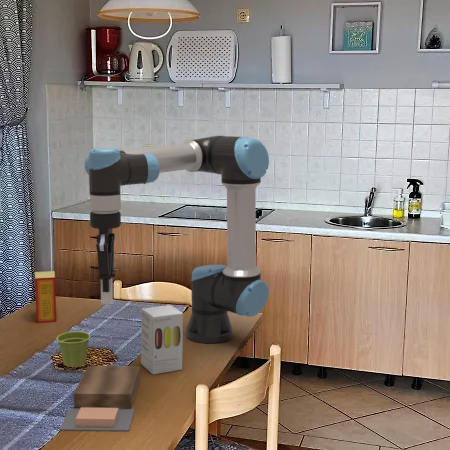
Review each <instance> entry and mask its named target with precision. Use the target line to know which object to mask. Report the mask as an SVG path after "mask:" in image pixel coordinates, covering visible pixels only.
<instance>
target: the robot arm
mask: <svg viewBox="0 0 450 450" xmlns="http://www.w3.org/2000/svg"><path fill="white" fill-rule="evenodd" d="M269 165H270V158H269V152H268V150H267V148H266V146H265V145H264V144H263V142H262V141H260V139H258V138H254V137H249V136H231V135H230V136H228V135H212V136H208V137H202V138H196V139H188V140H185V141H184V142H183V143H182V144H181V143H180V144H171V145H169V144H168V145H160V146H159V145H158V146H151V147H148V146H147V147H142V148H140V147H139V148H130V149H120V150H119V149H118V148H115V147H97V148H92V149H91V150H90V151H89V153H88V154H87V156H86V157H85V160H84V169H85V173H87V175H88V185H89V187H88V188H89V197H87V202H90V203H89V210H90V211H91V212H90V213H89V226H90V227H91V228H92V229H98V234H96V243H95V244H96V245H95V248H96V253H97V254H96V255H97V267H98V269H97V270H98V276H97V278H96V279H97V280H100V304H101V305H112V304H113V303H114V297H113V296H114V295H113V294H114V292H113V286H114V285H113V278H114V277H115V278H116V273H114V272H115V268H114V267H115V266H114V264H115V261H114V260H115V258H114V257H115V256H114V255H115V254H114V253H115V238H116V234H115V233H113V232H114V231H113V230H114V229H118V228H120V227H121V225H122V223H121V221H122V217H121V216H122V213H121V212H120V210H121V209H122V203H121V201H122V199H121V198H122V195H121V187H122V186H128V185H129V186H130V185H147V184H149V183H150V184H151V183H154V182H156V180H157V179H158V178H159V175H160V174H161V173H169V172H170V173H171V172H177V171H187V172H190V173H195V172H196V173H197V172H199V173H201V172H202V173H209V174H214V175H215V174H216V175H221V179H220V180H221V181H220V182H221V184H222V185H223V186H224V187H225V188H226V229H227V230H226V232H227V234H226V235H227V241H226V243H227V245H226V247H227V249H226V250H227V252H226V253H227V265H226V264H207V265H201V266H198V267H195V268H194V269H193V270H192V273H191V280H190V282H191V283H190V286H191V289H190V291H191V313H190V316H189V320H188V323H187V325H186V330H185V334H186V335H185V336H186V338H187V339H188V340H190V341H192V342H194V343H195V342H196V343H199V344H219V343H224V342H227V341H230V340H231V339H232V338H233V335H234V332H233V331H234V329H233V326H232V322H231V319H230V316H229V313H233V314H236V315H238V316H243V317H250V318H251V317H255V316H257V315H258V314H260V312H262V311H263V309H264V307H265V306H266V305H267V302H268V301H269V300H268V299H269V295H270V290H269V286H268V284H267V283H266V281H264V280H263V279H261V278H262V275H261V273H262V271H261V270H260V268H259V267H258V266H257V264H256V263H257V261H256V259H257V258H256V250H257V248H256V247H257V245H256V244H257V242H256V241H257V240H256V238H257V235H256V232H257V231H256V229H257V228H256V225H257V224H256V218H257V213H256V210H257V209H256V201H257V199H256V197H257V196H256V188H257V187H258V186H259V185H261V178H263V177H264V176H265V175H266V174H267V170H268V169H269ZM228 312H229V313H228Z"/></svg>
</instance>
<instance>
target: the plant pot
mask: <svg viewBox="0 0 450 450" xmlns="http://www.w3.org/2000/svg"><path fill="white" fill-rule="evenodd" d="M55 339H56V341H57V342H58V343H57V344H58V345H59V348H60V353H61V359H62V365H63V364H64V365H65V366H67V367H79V366H82V365H84V364H85V363H87V354H88V344H89V342H90V339H91V334H90V333H88V332H84V331H67V332H64V333H61V334H59V335H57V336H56V338H55ZM64 365H63V366H64ZM85 365H86V364H85Z"/></svg>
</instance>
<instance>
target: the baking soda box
mask: <svg viewBox="0 0 450 450" xmlns="http://www.w3.org/2000/svg"><path fill="white" fill-rule="evenodd" d="M34 286H35V288H34V289H35V291H34V292H35V309H36V311H35V313H36V314H35V315H36V324H44V323H45V324H46V323H57V301H56V300H57V299H56V297H57V296H56V293H57V292H56V274H55V270H47V271H35V272H34Z"/></svg>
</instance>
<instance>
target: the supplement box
mask: <svg viewBox="0 0 450 450" xmlns="http://www.w3.org/2000/svg"><path fill="white" fill-rule="evenodd" d="M140 314H141V318H140V321H141V323H140V324H141V325H140V326H141V327H140V328H141V329H140V330H141V332H140V333H141V338H140V340H141V341H140V343H141V345H140V346H141V349H140V350H141V352H140V356H141V358H140V360H141V362H140V363H141V365H142V367H144V368H145V369H146V370H147V371H149V373H151V375H159V374H163V373H164V374H165V373H169V372H176V371H182V370H183V342H184V341H183V339H184V336H183V334H184V331H183V329H184V326H183V324H184V313H183V312H182V311H181V310H179V309H177V308H176V307H174V306H173V305H171V304H169V305H168V304H167V305H159V306H154V307H153V306H152V307H142V308H141V313H140Z"/></svg>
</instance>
